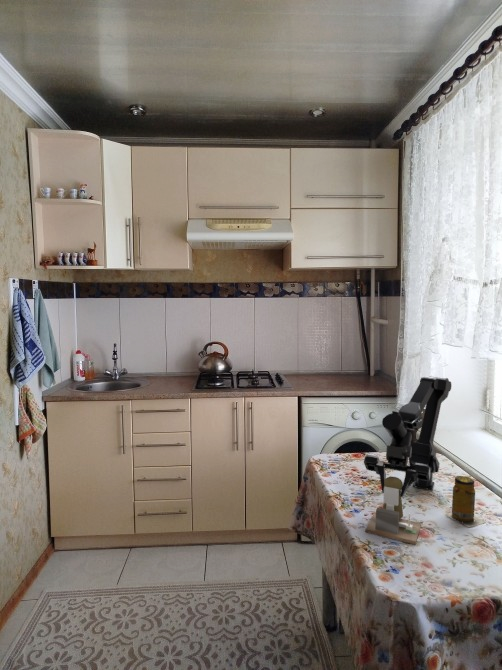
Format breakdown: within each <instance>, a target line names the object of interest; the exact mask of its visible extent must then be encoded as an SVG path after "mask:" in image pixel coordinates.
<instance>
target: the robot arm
mask: <svg viewBox="0 0 502 670" xmlns="http://www.w3.org/2000/svg"><path fill="white" fill-rule="evenodd" d="M419 380H420V381H419V383H418V385H417V387H416V389H415V391H414V393H413V394H412V396H411V398H410V400H409V402H408V403H406V404H404V405H402V406H401V407H400V408H399V410H398V411H396V410H392V413H388V414H387V415H385V416H384V417H383V418H382V421H381V424H382V426H383V428H384V430H385V431H386V432H387V435H388V436H389V437H390V438H391V441H390V445H386V451H385V457H386V458H385V459H386V461H384V460H381V459H380V458H379V456H377V455H371V454H367V455H366V456H364V459H363V464H364V467H365V469H366V470H368V471H371V472H375V474H376V475H379V478H380V486H381V487H380V488H381V492H382V494H384V487H385V485H384V481H385V479H386V478H387V473H386V470H392V471H397V472H403V473H404V474H405V475H404V479H403V482H402V483H403V487H402V489H401V498H403V497H405V494H406V493H407V491H408V489H410V487H411V486H412V487H413V488H419V489H424V490H429V491H433V490H434V486H435V482H434V481H433V477H434V475H433V474H436V473H439V468H440V461H439V459H438V457H437V450H436V447H435V445H434V440H435V434H436V430H437V425H438V421H439V415H440V411H441V406H442V403H443V402H444V401H445V400H447V398H448V397H449V393H450V392H451V390H452V382H451V381H449V378H448V377H443V376H442V377H441V376H434V375H429V376H421V377H420V379H419ZM423 411H424V412H423ZM422 413H423V415H422ZM410 430H411V431H418V430H420V431H419V436H418V439H417V440H416V441H413V435H412V433H411V432H410ZM412 441H413V442H412ZM411 442H412V443H411ZM408 464H409V465H408Z"/></svg>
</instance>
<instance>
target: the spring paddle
mask: <svg viewBox="0 0 502 670" xmlns="http://www.w3.org/2000/svg"><path fill="white" fill-rule="evenodd" d="M382 501H383V504H384V503H386V504H387V505H386V509H387V510H392V511H394V505H396V506H398V503H399V489H395V488H390V487H384V493H383V500H382ZM407 525H408V524H407ZM410 525H411V524H410ZM399 526H401V527H405V528H406V523H402V522H399ZM411 526H412V529H413V525H411Z"/></svg>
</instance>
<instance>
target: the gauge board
mask: <svg viewBox="0 0 502 670" xmlns="http://www.w3.org/2000/svg"><path fill="white" fill-rule="evenodd" d="M408 521H409V519H404V518H401V519H399V512H396V511H392V510H387V509H383V507H378V506H377V507H376V510H375V512H373V514H372V516H371V518H370V519H369V521H368V523H367V525H366V527H365V528H364V532H365V533H367V534H372V535H376V536H380V537H384V538H387V539H392V540H396V541H400V542H404V543H408V544H412V545H416V544H417V542H418V538H419V535H420V531H421V528H422V523H421V522H418V521H414V520H410V524H411V525H413V529H412V531H410V530H406V528H405V527H401V526H399V522H402V523H406V524H408Z"/></svg>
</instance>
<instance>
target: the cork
mask: <svg viewBox="0 0 502 670" xmlns="http://www.w3.org/2000/svg"><path fill="white" fill-rule="evenodd" d="M403 483H404V482H403V481H402V479H401V478H399V477H397V476H388V477H387V476H386V479H385V481H384V485H385V487H390V488H395V489H399V503H398V506H396V505H394V511H396V512H399V519H403V517H404V508H403V502H402V497H401V491H402V487H403ZM386 505H387V504H386V503H383V504H382V506H383V507H382V508H383V509H386Z"/></svg>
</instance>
